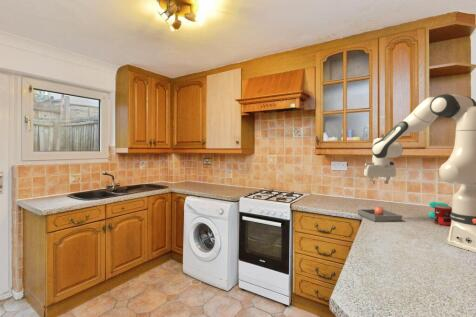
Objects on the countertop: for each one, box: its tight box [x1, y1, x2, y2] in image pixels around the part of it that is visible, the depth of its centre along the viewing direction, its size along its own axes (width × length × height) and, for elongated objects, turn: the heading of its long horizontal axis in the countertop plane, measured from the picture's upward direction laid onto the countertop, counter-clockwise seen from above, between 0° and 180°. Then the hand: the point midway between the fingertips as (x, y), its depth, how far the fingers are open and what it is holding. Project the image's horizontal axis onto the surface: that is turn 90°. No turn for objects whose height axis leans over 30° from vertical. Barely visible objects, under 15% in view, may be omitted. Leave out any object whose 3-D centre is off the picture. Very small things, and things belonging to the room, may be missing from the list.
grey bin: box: [357, 208, 403, 223], centre depth 165 cm, size 18×18×4 cm
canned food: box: [433, 205, 452, 227], centre depth 151 cm, size 8×8×11 cm
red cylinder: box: [374, 206, 384, 216], centre depth 165 cm, size 5×5×6 cm
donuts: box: [428, 201, 449, 219], centre depth 166 cm, size 10×10×10 cm
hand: (379, 183), depth 164 cm, fingers open, 8 cm apart
